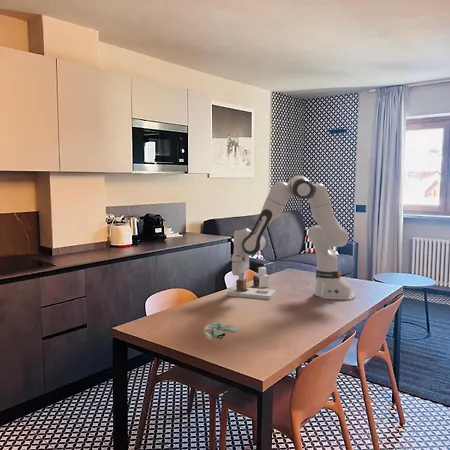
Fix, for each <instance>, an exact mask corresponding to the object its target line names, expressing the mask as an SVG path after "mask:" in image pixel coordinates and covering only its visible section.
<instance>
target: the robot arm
mask: <svg viewBox="0 0 450 450" xmlns="http://www.w3.org/2000/svg"><path fill="white" fill-rule="evenodd" d="M293 196H295V197H296V198H298V199H307V200H308V202H309V207H310V211H311V215H312V219H313V220H314V222H316V223H317V225H312V226H311V227H310V228H309V229H308V231H307V236H308V239H309V241H310V242H311V244H312V245H313V248H314V250H315V255H316V269H315V279H316V281H315V288H314V291H313V295H314V296H316V297H318V298H321V299H325V300H346V301H348V300H350V301H351V300H354V299H355V298H356V294H355V292H353V291H352V290H351V289H352V288H351V285H350V283H349V282H348V281H346V280H345V279H343V278H342V272H341V270H338V255H337V254H336V253H335V252H334V251H333V249H332V247H334V248H340V247H344V246H346V245H347V243H348V241H349V233H348V231H347V230H346V229H345V228H343V227H342V226H341V225H340V223H339V222H338V219H337V218H336V216H335V214H334V211H333V207H332V202H331V198H330V196H329V193H328V190H327V188H326V186H325V185H324V184H323V183H318V182H317V183H312V181H310V180H309V179H308V178H307V177H306V176H304V175H302V174H294V175H293V176H291V177H290V178H288V179H287V180H286V181H277V182H276V183H275V184H273V186H272V188H271V189H270V190H269V193H268V195H267V196H266V198H265V201H264V203H263V206H262V208H261V211H260V213H259V216H258V218H257V220H256V222H255V224H254V225H253V228H251V230H250V228H248V227H239V228H236V229H235V230H234V232H233V254H232V256H231V258H230V261H231V271H232V273H231V274H232V275H233V276H238V279H239V280H240V281H241V280H243V279H244V277H245V276H244V275H245V272H246V271H249V269H250V256H254V255H256V254H257V253H258V252H260V251H262V250H263V249H264V248H265V247H266V245H267V244H266V243H267V240H266V238H265V236H264V234H265V232H266V230H267V228H268V226H269V225H270V224H271V222H273V221H274V220H275V219H277V218H278V217H279V216H281V214H282V213H283V211H284V209H285V207H286V206H287V203H288V201H289V199H290V198H292V197H293Z"/></svg>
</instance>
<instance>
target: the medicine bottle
mask: <svg viewBox="0 0 450 450" xmlns="http://www.w3.org/2000/svg"><path fill="white" fill-rule="evenodd" d="M255 269H256V270H255V273H254V274H252V275H253V280H252V281H253V286H254V287H255V288H257V289H264V288H269V286H270V275H269V274H267V267H265V266H257V267H256V268H255Z"/></svg>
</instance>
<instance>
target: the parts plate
mask: <svg viewBox="0 0 450 450" xmlns="http://www.w3.org/2000/svg"><path fill="white" fill-rule="evenodd" d="M276 294H277V290H276V289H267V288H266V289H265V288H258V287H255V288H254V287H246V292H237V291H236V286H233V287H232V288H230V289H229V290H228V291H227V292H226V296H228V297H229V296H231V297H239V298H247V299H248V298H249V299H260V300H268V301H269V300H272V299H273V297H274V296H275V295H276Z"/></svg>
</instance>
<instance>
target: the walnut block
mask: <svg viewBox="0 0 450 450" xmlns="http://www.w3.org/2000/svg"><path fill="white" fill-rule="evenodd" d="M235 282H236V283H235V284H236V286H235V287H236V291H237V292H246V288H247V279H245V278H243V280H241V281H240V280H239V278H238V279H237V280H236V281H235Z"/></svg>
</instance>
